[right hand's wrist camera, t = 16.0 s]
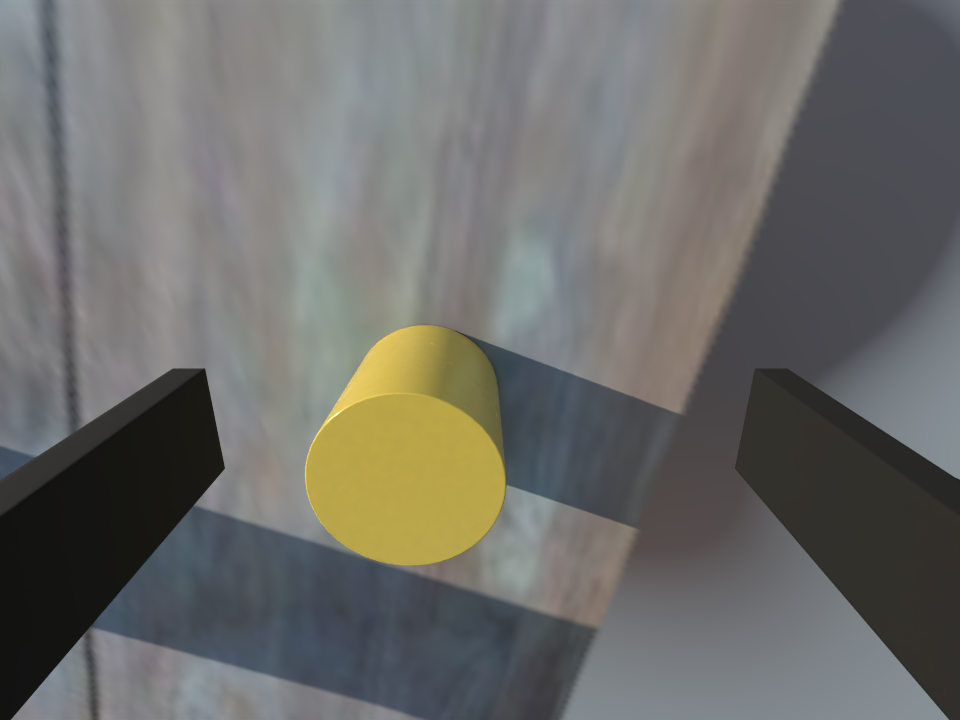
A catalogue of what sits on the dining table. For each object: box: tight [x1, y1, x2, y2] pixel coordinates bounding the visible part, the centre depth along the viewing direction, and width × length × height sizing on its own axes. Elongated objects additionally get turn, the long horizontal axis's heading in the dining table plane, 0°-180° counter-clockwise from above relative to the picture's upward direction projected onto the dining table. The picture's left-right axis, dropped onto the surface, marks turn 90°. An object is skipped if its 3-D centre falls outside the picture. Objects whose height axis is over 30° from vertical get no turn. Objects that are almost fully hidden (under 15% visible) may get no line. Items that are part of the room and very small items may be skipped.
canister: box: [305, 325, 506, 566], centre depth 23 cm, size 8×8×9 cm
